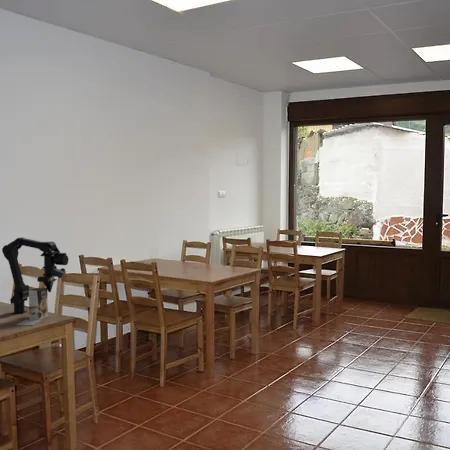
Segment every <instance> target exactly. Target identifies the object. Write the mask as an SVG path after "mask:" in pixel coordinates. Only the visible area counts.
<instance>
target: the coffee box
mask: <svg viewBox="0 0 450 450" xmlns="http://www.w3.org/2000/svg"><path fill="white" fill-rule="evenodd" d="M48 293H49V292H48V290H47V288H46V287H35V288H33V289H29V297H28V313H29V314H28V315H29V316H28V317H29V318H28V320H43V319H45V318H47V317H49V303H48V301H49V300H48Z"/></svg>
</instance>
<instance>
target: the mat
mask: <svg viewBox="0 0 450 450" xmlns="http://www.w3.org/2000/svg"><path fill="white" fill-rule="evenodd" d="M42 321H43V319H41V320H30V319H24V320H22V321H20V322H18V323H16V324H15V325H16V326H18V327H22V326H24V327H33V326H36V325H37V324H38V323H39V324H40V323H41V322H42Z"/></svg>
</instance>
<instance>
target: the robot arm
mask: <svg viewBox="0 0 450 450" xmlns="http://www.w3.org/2000/svg"><path fill="white" fill-rule="evenodd" d="M23 246H25V247H28V248H33V249H38V250H39V251H41V252H42V253H41V254H40V257H43V266H42V269H44V270H43V271H44V272H43V273H42V275H40V276H38V277H37V278H36V280H37V282H39V283H43V284H44V286H45V288H47V293H51V292H52V290H53V287H54V284H55V282H56V281H57V280H58V278H59V279H62V278H64V277H65V275H66V274H67V273H66V269H65V268H64V267H62V268H60V269H59V268H58V267H57V266H67V265H68V263H69V257H68V254H67V252H61V251H60V249H59V247H58V246H57V244H56V242H55V241H40V240H35V239H30V238H25V237H17V238H16V239H14V240H13V241H11V242H9V243H8V244H5V245H3V247H2V249H1V252H2V254H3V256H4V258H5V259H6V260H7V261H8V264H9V268H10V272H11V276H12V280H13V284H14V288H13V296H11V298H10V299H9V300H10V304H13V311H12V312H11V314H24V313H26V312H28V310H25V309H26V307H25V301H26V302H27V301H28V300H29V290H30V286H29V285H28V284H26V283H25V282H24V278H23V275H22V271H21V268H20V265H19V264H20V263H19V260H18V257H19V249H21V248H22V247H23Z"/></svg>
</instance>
